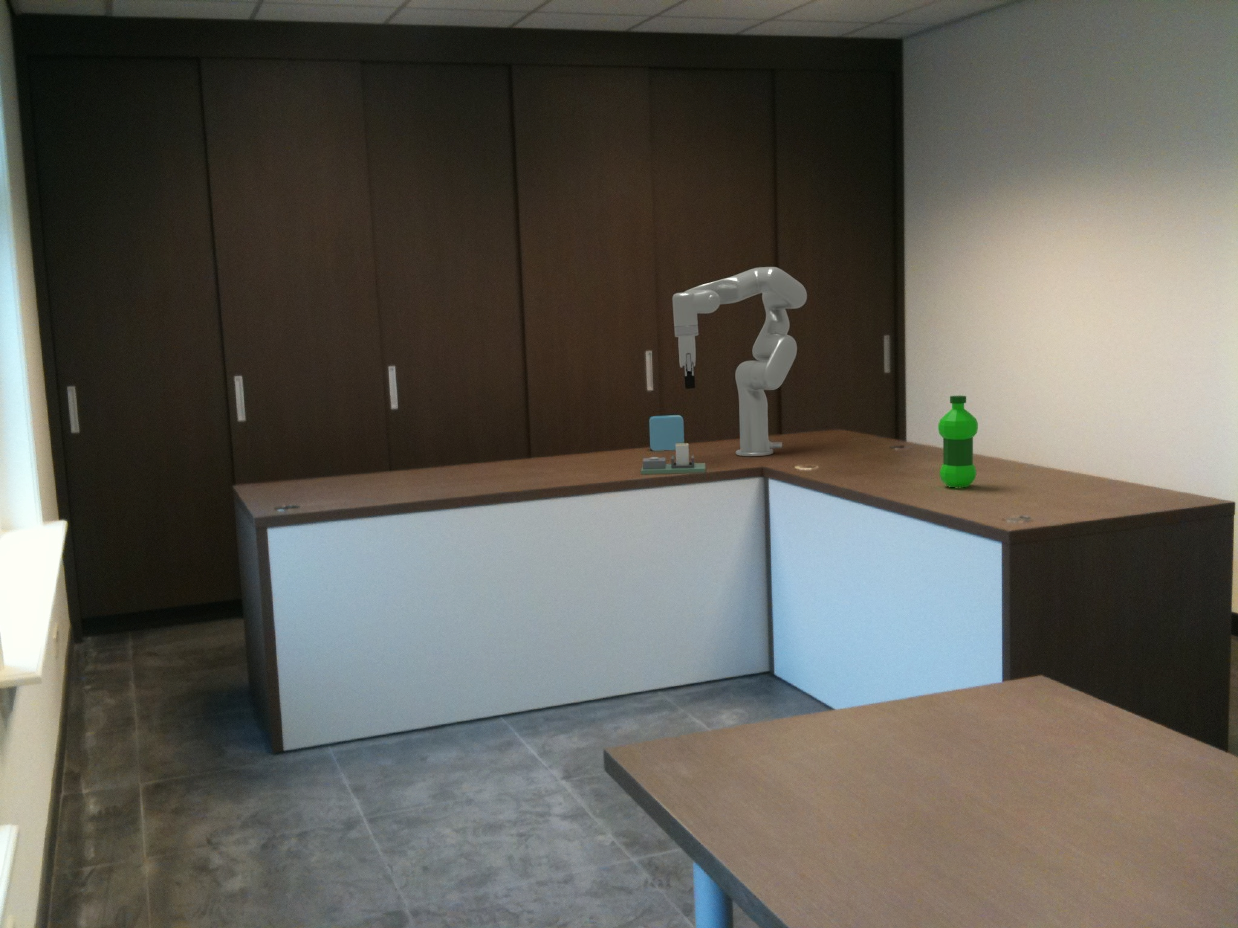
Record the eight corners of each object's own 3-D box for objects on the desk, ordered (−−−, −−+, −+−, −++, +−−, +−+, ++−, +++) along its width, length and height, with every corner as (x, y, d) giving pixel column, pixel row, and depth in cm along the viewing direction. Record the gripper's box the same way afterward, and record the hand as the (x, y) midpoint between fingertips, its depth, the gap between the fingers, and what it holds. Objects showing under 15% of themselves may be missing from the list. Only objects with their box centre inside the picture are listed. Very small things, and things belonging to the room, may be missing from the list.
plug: (689, 465, 386) (688, 442, 385) (689, 467, 382) (688, 444, 381) (676, 465, 386) (675, 442, 385) (676, 467, 383) (675, 444, 381)
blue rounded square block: (683, 448, 436) (682, 414, 434) (684, 450, 431) (683, 416, 429) (650, 449, 436) (649, 416, 434) (650, 451, 431) (649, 417, 429)
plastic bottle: (965, 482, 341) (965, 393, 338) (984, 488, 331) (984, 396, 327) (932, 485, 339) (932, 395, 336) (950, 491, 329) (950, 399, 325)
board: (705, 466, 390) (704, 453, 389) (705, 472, 378) (705, 458, 378) (642, 468, 391) (642, 455, 391) (641, 474, 380) (640, 460, 379)
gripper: (674, 330, 397) (678, 386, 400) (675, 333, 382) (679, 391, 386) (697, 328, 397) (700, 384, 400) (699, 332, 382) (702, 390, 385)
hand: (690, 388), depth 393 cm, fingers closed
